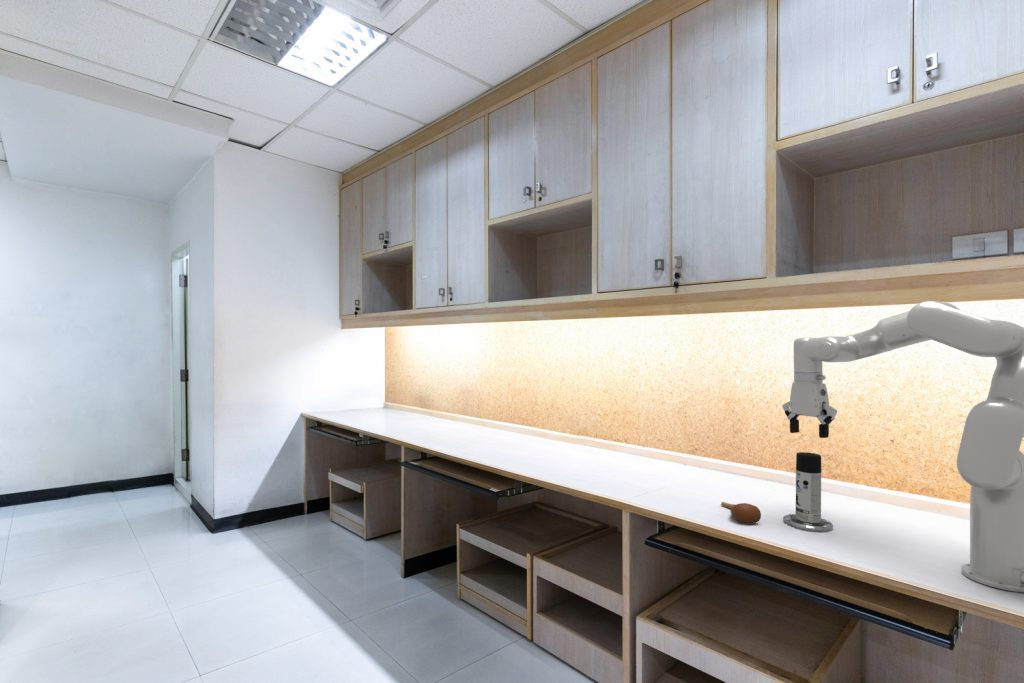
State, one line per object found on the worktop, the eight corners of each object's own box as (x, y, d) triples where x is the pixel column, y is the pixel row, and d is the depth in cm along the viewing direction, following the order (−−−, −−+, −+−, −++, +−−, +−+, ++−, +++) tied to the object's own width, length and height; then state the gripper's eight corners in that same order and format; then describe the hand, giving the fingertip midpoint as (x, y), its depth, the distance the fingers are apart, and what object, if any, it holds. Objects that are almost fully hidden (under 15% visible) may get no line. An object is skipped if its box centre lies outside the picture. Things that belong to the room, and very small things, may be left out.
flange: (843, 529, 150) (843, 524, 150) (812, 534, 145) (812, 529, 145) (803, 515, 162) (803, 510, 162) (773, 520, 157) (773, 515, 157)
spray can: (794, 515, 157) (794, 451, 157) (819, 518, 155) (819, 452, 155) (797, 522, 151) (797, 455, 151) (823, 525, 149) (823, 457, 149)
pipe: (728, 506, 171) (728, 488, 171) (763, 526, 152) (763, 506, 152) (707, 506, 170) (707, 488, 170) (739, 527, 151) (739, 506, 151)
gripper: (844, 379, 147) (845, 438, 147) (791, 376, 163) (792, 430, 163) (826, 380, 144) (827, 440, 144) (774, 377, 160) (775, 431, 160)
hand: (808, 435), depth 153 cm, fingers open, 9 cm apart
